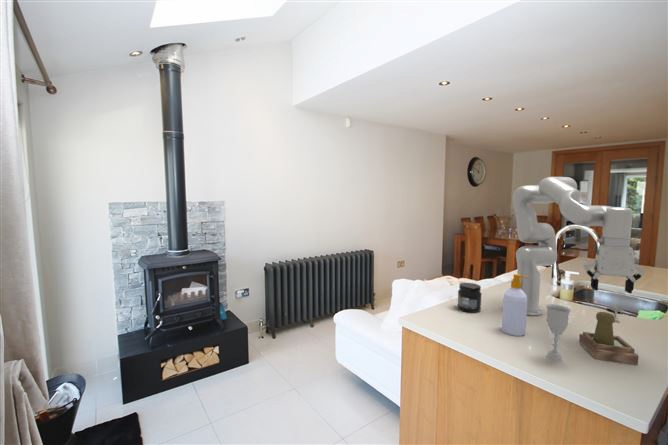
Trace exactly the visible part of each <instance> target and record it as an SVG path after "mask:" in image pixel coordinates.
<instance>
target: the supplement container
mask: <svg viewBox="0 0 668 445" xmlns="http://www.w3.org/2000/svg"><path fill="white" fill-rule="evenodd" d="M458 288H459V289H458V291H457V293H458V294H457V308H458V309H459V310H461V311H462V312H465V313H471V314H473V313H474V314H475V313H479V312H480V311H481V309H482V306H481V305H482V292H481V291H482V288H481V285H479V284H477V283H473V282H461V283H459V286H458Z"/></svg>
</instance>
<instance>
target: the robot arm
mask: <svg viewBox="0 0 668 445" xmlns="http://www.w3.org/2000/svg"><path fill="white" fill-rule="evenodd" d="M580 199H581V192H580V190H578V184H577V182H576V180H575V179H574V178H572V177H569V176H547V177H544V178H542V180H540V181H539V183H538V184H536V185H535V184H534V185H533V184H528V185H527V184H526V185H521V186H519V187H518V188H516V189H515V190H514V192H513V194H512V204H513V209H514V212H515V218H516V219H515V221H516V232H517V238H518V240H519V241H520V242H522V243H525V244H526V243H528V244H534V243H535V244H538V245H523V246H521V247H519V248H518V249H517V250H516V252H515V259H516V266H517V267H516V268H517V270H516V271H517V272H516V274H519V275H521V276H526V277H529V279H527V278H519V280H520V282H521V290H522V291H524V293H525V294H526V296H527V315H526V316H536V317H537V316H542V314H543V310H542V309H541V308H539V307H540V306H539V304H540V292H541V291H540V290H541V274H540V272H539V269H538V268H537V267H543V266H544V267H547V266H553V265H554V264H556V262H557V260H558V249H557V248H558V247H557V240H556V232H555V228H553V226H552V225H551V224H549V223H546V222H538V217H537V216H538V215H537V213H536V210H535V208H534V207H533V206H532V205H531V204H552V203H555V204H557V205H559V206H558V208H559V211H560V213H561V215H562V216H563V217H564V218H565V219H566V220H568V221H570V222H571V223H573V224H575V225H577V226H581V227H602V233H601V237H600V238H597V239H596V243H599V245H598V248H597V251H596V254H595V258H594V261H592V262H589V263H585V264H583V266H582V267H583V269H584V271H585V273H586V274H587V275H588V276H589V277H590V287H591V289H592V290H594V291H599V279H598V278H600V276H601V275H602V276H610V277H611V276H612V277H622V278H623V277H625V278H626V280H625V284H624V285H625V286H624V291H625V292H626V293H628V294H632V292H633V291H634V286H635V283H636V282H637V281H638V280H639V279H640V278H642V276H643V275H644V273H645V272H646V270H645V269H644V268H642V267H640V266H639V265H636V264H635V253H634V248H633V247H631V236H632V225H633V214H634V211H633V209H632V208H630V207H624V206H609V205H594V204H593V205H591V204H590V205H583V204H581V203H579V201H580ZM600 244H601V245H600ZM591 268H593V270H594V271H593V272H592V271H591ZM635 271H636V273H635Z"/></svg>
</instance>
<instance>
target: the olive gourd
mask: <svg viewBox="0 0 668 445" xmlns="http://www.w3.org/2000/svg"><path fill="white" fill-rule="evenodd" d="M595 318H596V320H597V322H596V326H595V330H594V332H593V333H594V337H593V339H594V340H595V341H596V343H597V344H605V345H613V346H614V337H613V335H614V329H613V328H614V326H613V324H614V323H615V322H614V321H615V320H616V316H615V314H613V313H610V312H606V311H599V312H597V313H596V315H595Z"/></svg>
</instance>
